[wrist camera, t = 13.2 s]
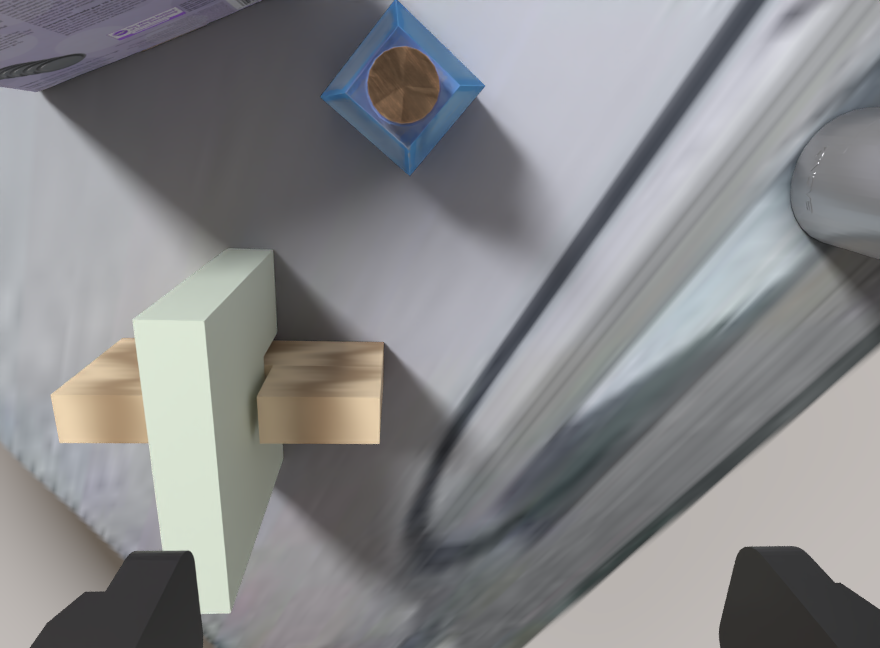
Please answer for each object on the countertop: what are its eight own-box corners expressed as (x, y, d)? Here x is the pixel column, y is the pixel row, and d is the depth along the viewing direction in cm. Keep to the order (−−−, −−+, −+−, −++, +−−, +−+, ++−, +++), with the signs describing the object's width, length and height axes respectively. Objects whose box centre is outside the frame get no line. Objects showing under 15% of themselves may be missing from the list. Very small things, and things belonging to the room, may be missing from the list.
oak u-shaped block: (383, 342, 43) (379, 397, 34) (383, 380, 44) (379, 443, 35) (122, 338, 41) (50, 394, 33) (127, 377, 42) (59, 442, 34)
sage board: (273, 249, 40) (204, 320, 26) (283, 458, 45) (230, 613, 31) (227, 248, 40) (132, 319, 26) (243, 458, 45) (171, 614, 31)
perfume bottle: (472, 91, 38) (502, 78, 26) (408, 167, 39) (411, 187, 28) (396, 18, 36) (394, -29, 25) (332, 100, 37) (302, 92, 26)
